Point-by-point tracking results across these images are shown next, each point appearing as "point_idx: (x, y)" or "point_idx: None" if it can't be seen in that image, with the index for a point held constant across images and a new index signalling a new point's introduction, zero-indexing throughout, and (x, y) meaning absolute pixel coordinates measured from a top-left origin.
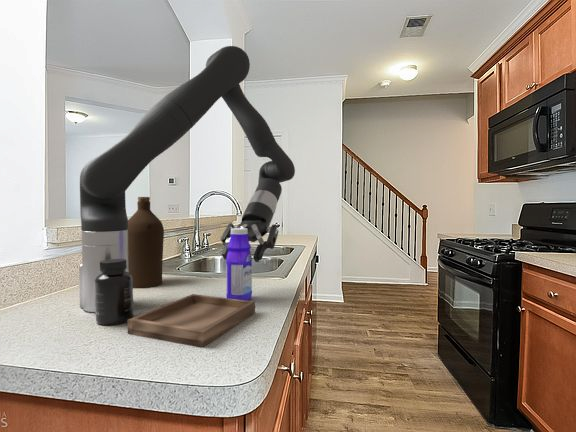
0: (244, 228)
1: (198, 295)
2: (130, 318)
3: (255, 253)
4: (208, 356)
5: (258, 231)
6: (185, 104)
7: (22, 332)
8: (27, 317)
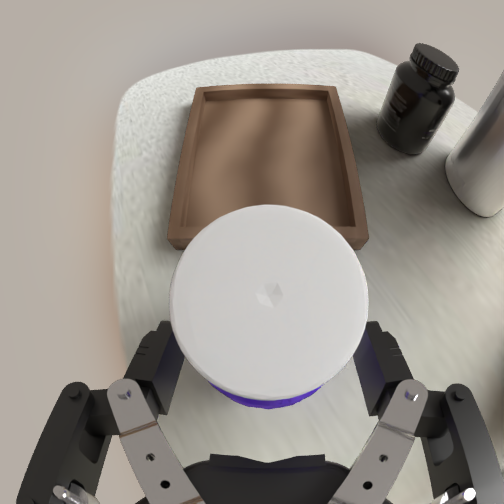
0: (209, 328)
1: (345, 232)
2: (380, 133)
3: (164, 332)
4: (182, 93)
5: (141, 475)
6: None
7: None
8: None
